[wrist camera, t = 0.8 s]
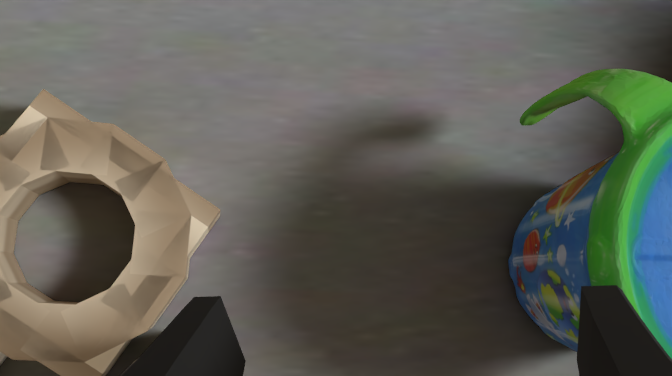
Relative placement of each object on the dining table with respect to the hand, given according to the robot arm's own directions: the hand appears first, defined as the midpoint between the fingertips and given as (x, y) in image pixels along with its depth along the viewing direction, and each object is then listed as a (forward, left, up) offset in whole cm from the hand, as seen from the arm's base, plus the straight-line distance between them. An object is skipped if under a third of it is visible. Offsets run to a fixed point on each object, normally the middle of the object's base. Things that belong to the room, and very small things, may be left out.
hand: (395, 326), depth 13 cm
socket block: (-3, +9, -14) cm, 17 cm away
